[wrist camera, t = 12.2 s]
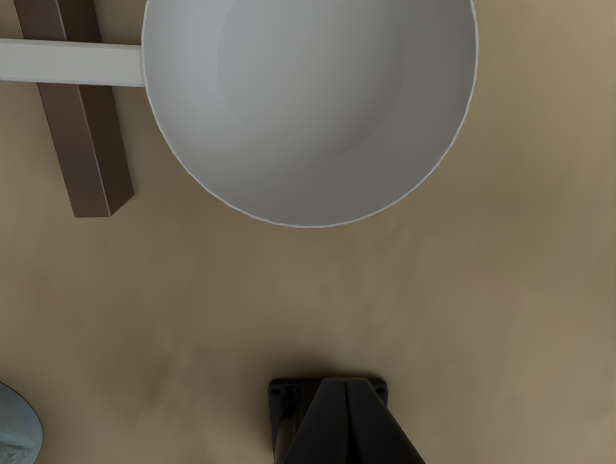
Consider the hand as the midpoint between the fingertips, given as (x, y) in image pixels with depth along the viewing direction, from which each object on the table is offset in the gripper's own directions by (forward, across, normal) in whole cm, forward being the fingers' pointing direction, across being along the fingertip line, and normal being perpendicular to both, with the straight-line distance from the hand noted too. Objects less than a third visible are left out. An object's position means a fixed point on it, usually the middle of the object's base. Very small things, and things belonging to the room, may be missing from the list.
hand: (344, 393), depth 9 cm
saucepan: (+12, +4, -5) cm, 14 cm away
